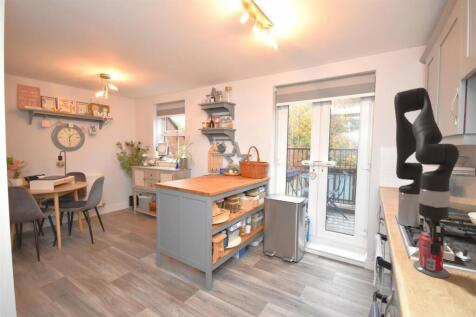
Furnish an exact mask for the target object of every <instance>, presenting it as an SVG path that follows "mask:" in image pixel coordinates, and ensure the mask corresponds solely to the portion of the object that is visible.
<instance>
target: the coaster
mask: <svg viewBox="0 0 476 317" xmlns="http://www.w3.org/2000/svg"><path fill="white" fill-rule="evenodd" d="M412 264H413V265H412V266H413V268H414V269H415V270H416V271H418V272H419V273H421V274H424V275H427V276H429V277H432V278H438V279H446V278H449V274H450V273H449V271H448V270H447V269H446V268H444V267H443V270H442V271H430V270H427V269H425V268H423V267H422V266H421V265H420V264H419V260H418V261H414V262H413V263H412Z"/></svg>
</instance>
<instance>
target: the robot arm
mask: <svg viewBox="0 0 476 317" xmlns="http://www.w3.org/2000/svg"><path fill="white" fill-rule="evenodd" d="M393 99H394V100H393V101H394V102H393V106H394V114H395V116H394V117H395V125H396V129H395V134H396V135H395V145H396V166H395V167H396V168H395V174H396V177H397V178H398V180H406V181H407V180H408V181H413V182H411V183H409V184H403V185H401V186H399V188H398V205H397V206H398V207H397V208H398V210H397V223H398V224H399V225H401V226H405V227H408V226H411V227H410V228H420V227H421V226H420V225H421V217H423V222H422V223H423V224H422V229H423V231H427V232H428V236H429V237H430V242H431V246H430V253H431V254H432V255H435V256H440V245H441V246H443V245H445V242H444V243H443V240H444V233H445V228H444V226H443V224H441V221H446V220H448V219H449V218H450V199H451V198H450V197H451V196H450V181H451V176H452V174H453V171H454V168H455V166H456V164H457V163H458V159H459V158H460V150H459V149H458V147H457V146H456V145H455V144H453V143H441V142H442V140H443V133H442V132H441V130H440V128H439V126H438V124H437V122H436V118H435V116H434V115H435V114H434V111H433V107H432V105H433V104H432V102H431V99H430V95H429V92H428V91H427V89H426V88H425V87H416V88H411V89H408V90H403V91H399V92H397V93H396V94H395V95H394V98H393ZM416 111H417V112H418V111H420V112H419V114H418V115H417V117H416V118H415V119H414V121H413V123H412V122H410V121H409V119H408V118H407V117H406V115H405V114H407V113H410V112H416ZM414 154H415V155H414ZM412 155H414V156H415V157H414V158H415V160H416V161H417V162H406V161H407V160H408V159H409V158H410V157H411V156H412ZM423 165H427V166H428V165H429V166H431V165H432V166H433V165H435V166H437V165H438V168H436V169H434V170H430V171H424V169H423V168H424V166H423ZM435 237H436V238H438V241H436V240H435Z"/></svg>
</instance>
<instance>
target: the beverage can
mask: <svg viewBox="0 0 476 317" xmlns="http://www.w3.org/2000/svg"><path fill="white" fill-rule="evenodd" d="M435 240H436V241H438V238H436V237H435ZM418 243H419V244H418V261H419V264H420V265H421V266H422V267H423V268H425V269H427V270H430V271H442V270H443V268H444V260H443V256H444V245H445V240H444V239H443V243H444V245H443V246H441V245H440V256H435V255H432V254H431V253H430V246H431V242H430V237H429V236H428V232H427V231H424V230H423V231H421V233H420V235H419V242H418Z"/></svg>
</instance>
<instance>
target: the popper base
mask: <svg viewBox="0 0 476 317" xmlns="http://www.w3.org/2000/svg"><path fill="white" fill-rule="evenodd" d="M446 246H447V252H445V251H444V256H443V259H446V260H451V261H454V262H455V253H454V251H453V250H452V249H451V248H450V246H449V245H446ZM446 260H445V261H446ZM451 261H450V262H451Z"/></svg>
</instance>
